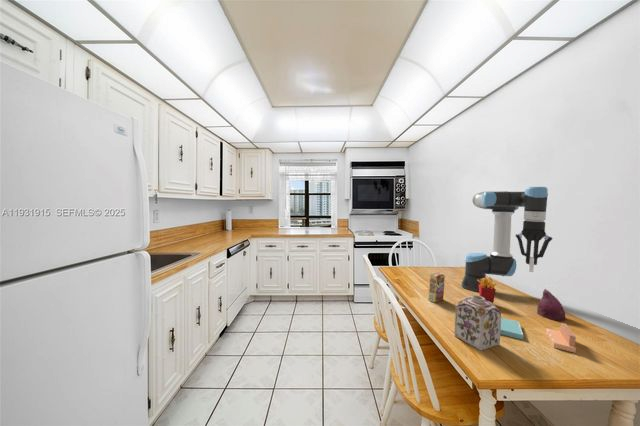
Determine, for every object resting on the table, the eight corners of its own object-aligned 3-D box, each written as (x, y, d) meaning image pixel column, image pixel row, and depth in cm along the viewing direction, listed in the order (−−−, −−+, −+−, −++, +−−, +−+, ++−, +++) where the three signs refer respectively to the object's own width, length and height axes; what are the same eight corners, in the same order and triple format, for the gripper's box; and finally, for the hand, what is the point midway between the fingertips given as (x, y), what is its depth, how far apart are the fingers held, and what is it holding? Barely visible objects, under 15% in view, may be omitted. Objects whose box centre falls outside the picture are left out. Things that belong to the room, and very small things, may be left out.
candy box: (435, 303, 135) (436, 276, 134) (428, 300, 138) (429, 274, 138) (444, 299, 140) (445, 273, 139) (437, 297, 143) (438, 272, 142)
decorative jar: (453, 335, 101) (455, 293, 100) (471, 330, 106) (473, 290, 105) (482, 352, 90) (484, 305, 89) (501, 345, 95) (503, 300, 94)
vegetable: (538, 322, 121) (529, 293, 122) (538, 313, 129) (530, 285, 129) (567, 324, 114) (558, 294, 114) (566, 315, 121) (557, 286, 122)
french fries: (495, 307, 131) (496, 280, 130) (477, 304, 133) (479, 278, 133) (489, 301, 139) (491, 275, 138) (473, 299, 142) (474, 273, 141)
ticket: (486, 318, 117) (487, 314, 117) (518, 325, 111) (518, 321, 110) (487, 330, 106) (487, 326, 106) (523, 339, 99) (523, 335, 99)
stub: (545, 331, 105) (546, 318, 105) (564, 336, 102) (565, 322, 102) (553, 347, 94) (554, 332, 94) (575, 352, 90) (576, 337, 90)
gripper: (516, 220, 110) (513, 270, 112) (555, 222, 103) (551, 276, 104) (515, 219, 116) (511, 266, 118) (551, 220, 109) (547, 271, 111)
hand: (530, 271), depth 111 cm, fingers closed
